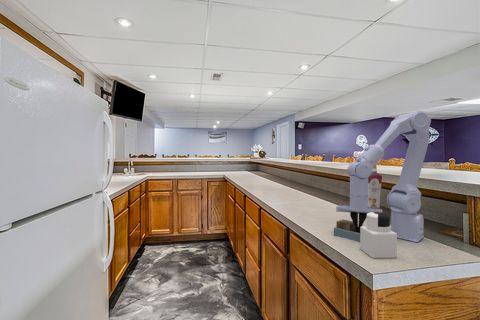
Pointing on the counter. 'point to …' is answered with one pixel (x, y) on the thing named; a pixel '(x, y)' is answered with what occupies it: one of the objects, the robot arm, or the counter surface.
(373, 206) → the liquor
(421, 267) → the counter surface
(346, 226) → the walnut block
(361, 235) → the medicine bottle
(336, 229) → the chute
